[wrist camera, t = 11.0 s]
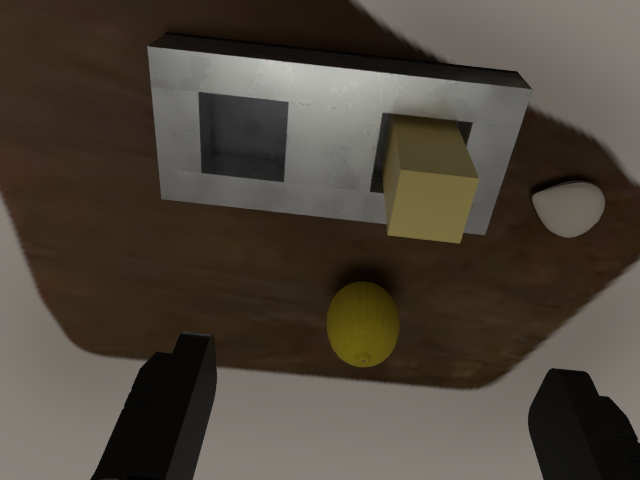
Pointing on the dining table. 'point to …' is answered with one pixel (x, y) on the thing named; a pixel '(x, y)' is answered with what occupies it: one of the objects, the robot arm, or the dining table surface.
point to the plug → (427, 179)
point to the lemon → (363, 324)
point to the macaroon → (569, 207)
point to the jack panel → (315, 124)
